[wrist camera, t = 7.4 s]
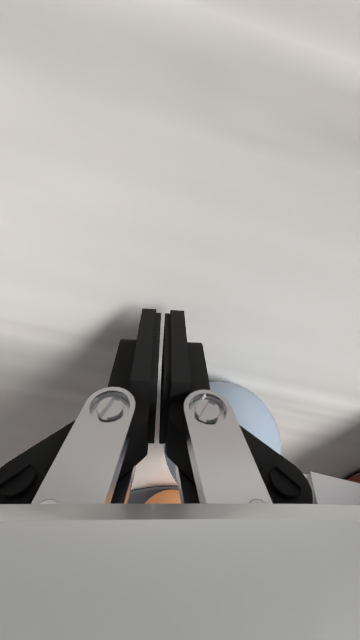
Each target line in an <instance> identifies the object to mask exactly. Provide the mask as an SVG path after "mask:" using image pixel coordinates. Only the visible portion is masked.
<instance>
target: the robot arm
mask: <svg viewBox="0 0 360 640" xmlns="http://www.w3.org/2000/svg"><path fill="white" fill-rule="evenodd" d="M160 322H161V313H156V309H142V314H141V320H140V325H139V331H138V337H137V340H126V339H121V340H120V343H119V347H118V350H117V354H116V358H115V362H114V366H113V369H112V373H111V377H110V381H109V384H108V387H107V388H103V389H100V390H98V391H96V392H95V393H93V394H92V395H91V396H90V397H89V398H88V399H87V401H86V402H85V404H84V406H83V408H82V409H81V411H80V413H79V415H78V417H77V419H76V420H75V421H73V422H72V423H70V424H68V425H67V426H65V427H64V428H62V429H60V430H59V431H57V432H56V433H54V434H52V435H51V436H49V437H48V438H46V439H44V440H43V441H41V442H40V443H38V444H36V445H35V446H33V447H32V448H30V449H28V450H27V451H25V452H24V453H22V454H20V455H19V456H17V457H16V458H14V459H12V460H11V461H9V462H8V463H6V464H5V465H4V466H3V467H1V468H0V640H360V483H356V482H352V481H348V480H344V479H340V478H336V477H332V476H327V475H323V474H319V473H315V472H311V471H310V473H309V474H304V473H302V472H301V471H300V470H299V469H298V468H297V467H296V466H295V465H293V464H292V463H291V462H289V461H288V460H287V459H285V458H284V457H282V456H281V455H280V454H278V453H277V452H276V451H274V450H273V449H272V448H270V447H269V446H268V445H266V444H265V443H263V442H262V441H261V440H259V439H258V438H257V437H255V436H254V435H253V434H251V433H250V432H249V431H247V430H246V429H244V428H243V427H242V426H240V425H239V424H238V421H237V419H236V417H235V414H234V412H233V410H232V407H231V405H230V404H229V402H228V400H227V399H226V398H224V397H223V396H222V395H221V394H219V393H217V392H214V391H211V390H210V385H209V379H208V373H207V368H206V362H205V357H204V351H203V346H202V343H191V342H187V337H186V327H185V317H184V311H176V310H171V311H170V314H167V313H165V324H164V339H163V355H162V373H161V403H160V434H159V444H165V454H166V456H167V457H168V458H169V459H170V460H171V461H172V462H173V463H174V464H175V467H176V477H177V483H178V489H179V495H180V501H181V504H127V501H128V498H129V494H130V490H131V486H132V482H133V478H134V474H135V469H136V464H138V463H139V462H140V461H141V460H142V459H143V458H144V457H145V456H147V451H148V443H154V437H155V419H156V401H157V382H158V362H159V342H160Z"/></svg>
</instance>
